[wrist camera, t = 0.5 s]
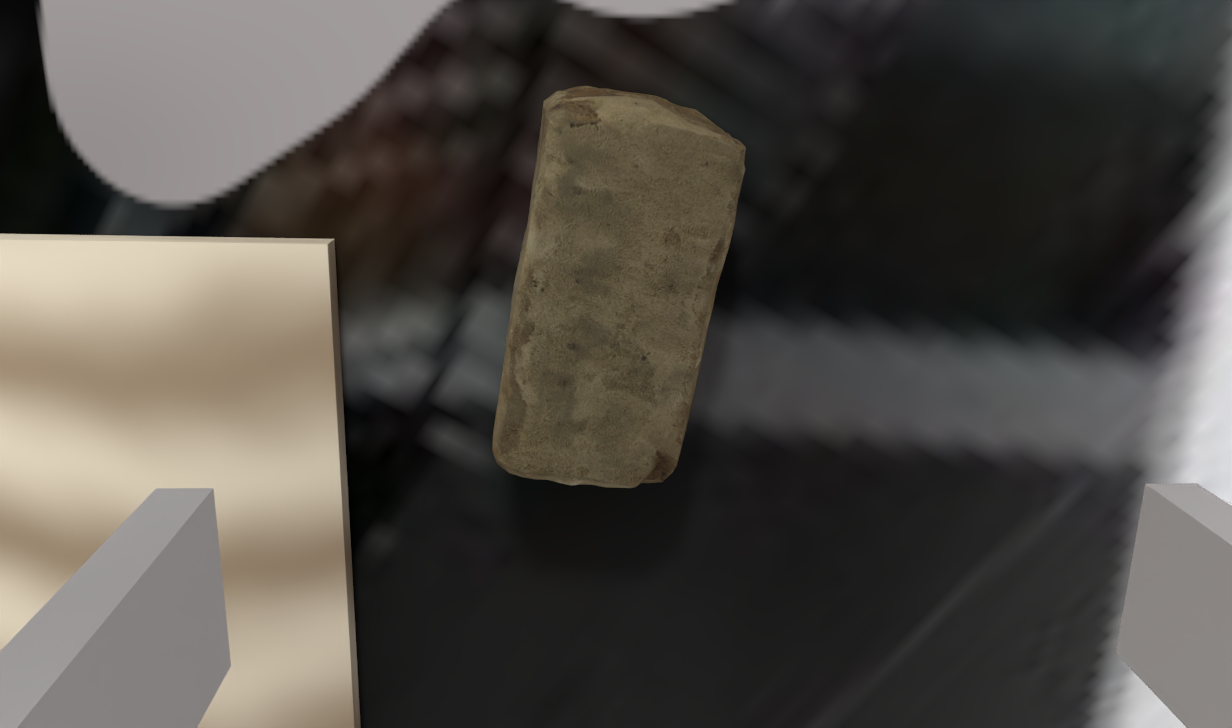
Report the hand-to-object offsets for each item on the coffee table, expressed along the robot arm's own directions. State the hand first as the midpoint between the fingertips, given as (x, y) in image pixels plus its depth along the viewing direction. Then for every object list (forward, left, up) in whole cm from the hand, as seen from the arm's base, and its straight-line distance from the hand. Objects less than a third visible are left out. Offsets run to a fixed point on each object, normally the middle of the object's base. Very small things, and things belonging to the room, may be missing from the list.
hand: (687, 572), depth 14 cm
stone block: (0, 0, -20) cm, 20 cm away
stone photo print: (+9, -16, -19) cm, 27 cm away
